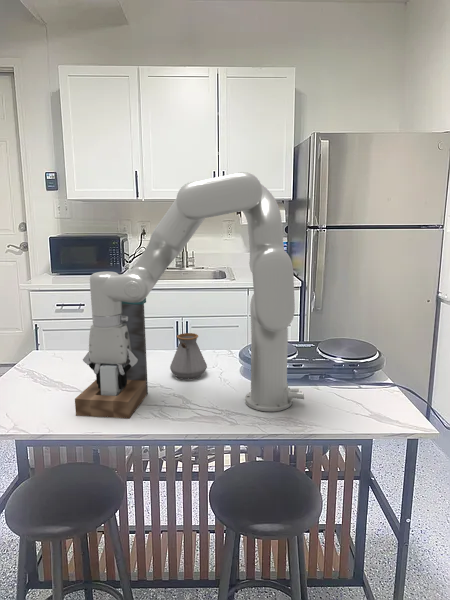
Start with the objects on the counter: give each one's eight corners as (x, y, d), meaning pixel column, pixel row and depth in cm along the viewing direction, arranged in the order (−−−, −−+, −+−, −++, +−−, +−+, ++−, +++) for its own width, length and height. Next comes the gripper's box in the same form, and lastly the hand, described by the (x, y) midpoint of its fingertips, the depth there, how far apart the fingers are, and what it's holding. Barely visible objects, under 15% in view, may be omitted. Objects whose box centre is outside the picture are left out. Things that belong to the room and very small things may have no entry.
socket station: (150, 390, 129) (145, 296, 124) (129, 418, 112) (123, 311, 107) (103, 388, 131) (97, 295, 126) (76, 415, 114) (67, 309, 109)
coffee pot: (172, 368, 147) (171, 324, 144) (208, 368, 147) (207, 324, 144) (163, 395, 126) (161, 344, 123) (204, 395, 126) (203, 344, 123)
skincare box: (117, 411, 117) (114, 367, 115) (101, 410, 117) (98, 366, 115) (125, 401, 123) (123, 359, 121) (110, 401, 123) (107, 359, 121)
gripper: (144, 317, 118) (147, 383, 122) (82, 316, 120) (87, 380, 124) (135, 324, 111) (138, 394, 114) (69, 323, 113) (75, 391, 117)
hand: (112, 386), depth 119 cm, fingers open, 5 cm apart
